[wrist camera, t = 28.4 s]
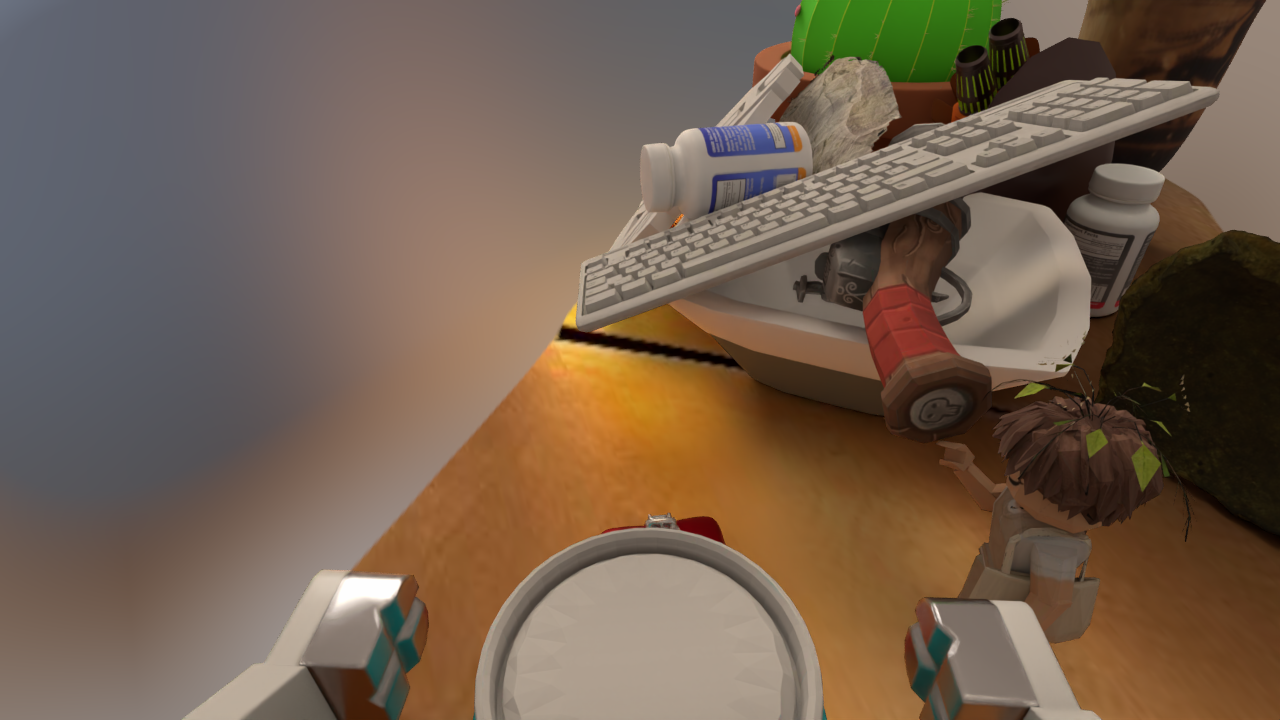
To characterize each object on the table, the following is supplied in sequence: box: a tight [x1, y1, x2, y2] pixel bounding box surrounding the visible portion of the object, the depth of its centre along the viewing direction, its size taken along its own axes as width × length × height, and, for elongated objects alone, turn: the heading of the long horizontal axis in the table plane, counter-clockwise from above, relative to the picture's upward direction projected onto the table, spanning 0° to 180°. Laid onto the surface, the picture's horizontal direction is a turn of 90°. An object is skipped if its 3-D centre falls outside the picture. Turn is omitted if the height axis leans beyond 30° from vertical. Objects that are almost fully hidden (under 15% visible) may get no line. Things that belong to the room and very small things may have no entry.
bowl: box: [668, 192, 1091, 416], centre depth 41 cm, size 22×23×8 cm
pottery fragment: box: [1094, 230, 1280, 536], centre depth 30 cm, size 13×14×4 cm
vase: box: [1078, 0, 1266, 172], centre depth 50 cm, size 11×11×30 cm
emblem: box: [610, 54, 804, 251], centre depth 51 cm, size 20×1×20 cm
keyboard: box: [576, 78, 1219, 332], centre depth 33 cm, size 29×10×2 cm, turn 97°
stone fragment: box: [779, 55, 942, 175], centre depth 43 cm, size 19×8×5 cm
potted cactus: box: [752, 0, 1006, 153], centre depth 56 cm, size 22×22×25 cm
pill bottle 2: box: [1063, 164, 1165, 317], centre depth 46 cm, size 5×5×10 cm
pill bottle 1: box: [640, 122, 813, 220], centre depth 40 cm, size 5×5×10 cm
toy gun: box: [793, 123, 992, 443], centre depth 31 cm, size 6×22×10 cm
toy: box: [936, 331, 1197, 643], centre depth 22 cm, size 6×6×15 cm
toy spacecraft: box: [932, 18, 1116, 223], centre depth 47 cm, size 12×20×6 cm
